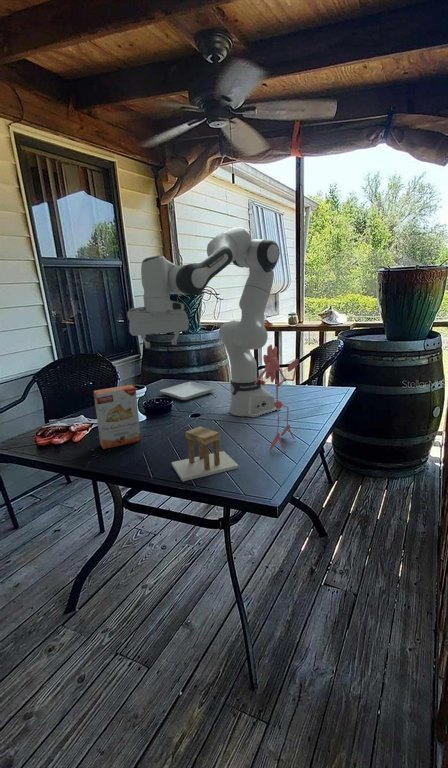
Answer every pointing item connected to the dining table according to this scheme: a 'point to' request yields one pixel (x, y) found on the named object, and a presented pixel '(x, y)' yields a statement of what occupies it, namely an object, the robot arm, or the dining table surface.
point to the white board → (197, 468)
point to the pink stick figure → (270, 370)
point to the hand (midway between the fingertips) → (161, 346)
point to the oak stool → (203, 445)
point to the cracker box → (117, 416)
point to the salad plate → (187, 390)
